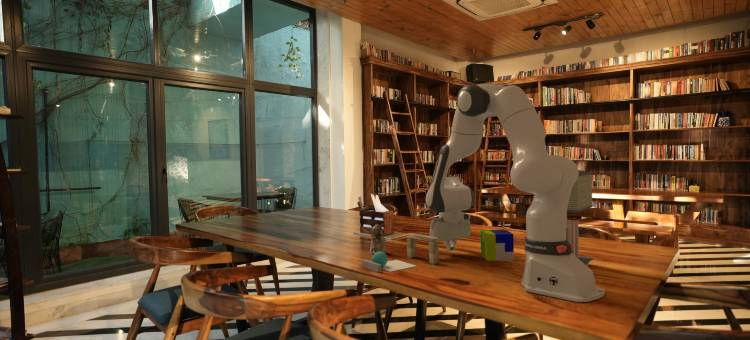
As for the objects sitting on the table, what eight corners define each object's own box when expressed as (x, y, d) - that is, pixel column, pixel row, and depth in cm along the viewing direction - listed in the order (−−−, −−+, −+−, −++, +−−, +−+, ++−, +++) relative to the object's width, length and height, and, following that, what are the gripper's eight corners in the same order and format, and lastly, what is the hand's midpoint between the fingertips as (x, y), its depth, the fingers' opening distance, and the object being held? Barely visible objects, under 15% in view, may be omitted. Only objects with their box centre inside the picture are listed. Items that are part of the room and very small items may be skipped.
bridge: (412, 255, 168) (412, 232, 168) (438, 263, 155) (438, 238, 155) (407, 257, 166) (406, 233, 166) (432, 264, 154) (432, 239, 154)
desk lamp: (579, 275, 135) (579, 174, 135) (535, 269, 144) (534, 174, 144) (593, 264, 149) (593, 172, 149) (552, 258, 158) (551, 172, 158)
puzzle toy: (513, 260, 158) (513, 234, 157) (487, 260, 158) (486, 234, 158) (506, 254, 168) (505, 229, 167) (480, 254, 168) (480, 230, 168)
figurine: (366, 252, 176) (366, 223, 176) (382, 250, 179) (381, 222, 179) (374, 255, 170) (373, 226, 170) (389, 253, 173) (389, 224, 173)
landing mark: (416, 266, 151) (416, 265, 151) (390, 271, 144) (390, 271, 144) (396, 260, 161) (396, 259, 161) (370, 265, 154) (370, 264, 154)
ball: (392, 262, 151) (387, 249, 150) (382, 271, 148) (376, 257, 147) (383, 261, 156) (377, 248, 155) (372, 269, 152) (366, 255, 151)
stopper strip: (381, 271, 145) (381, 264, 145) (377, 272, 144) (377, 265, 144) (365, 266, 153) (365, 259, 153) (362, 266, 152) (361, 259, 152)
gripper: (436, 219, 160) (437, 255, 161) (473, 214, 172) (473, 248, 172) (425, 217, 166) (425, 252, 166) (461, 213, 177) (462, 245, 178)
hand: (450, 250), depth 169 cm, fingers closed
